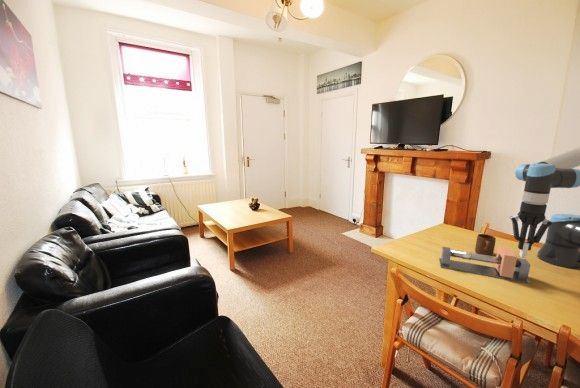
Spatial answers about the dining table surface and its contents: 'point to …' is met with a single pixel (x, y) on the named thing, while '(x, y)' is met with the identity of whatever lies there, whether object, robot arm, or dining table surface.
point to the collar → (506, 262)
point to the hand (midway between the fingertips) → (522, 256)
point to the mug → (485, 244)
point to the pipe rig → (445, 262)
